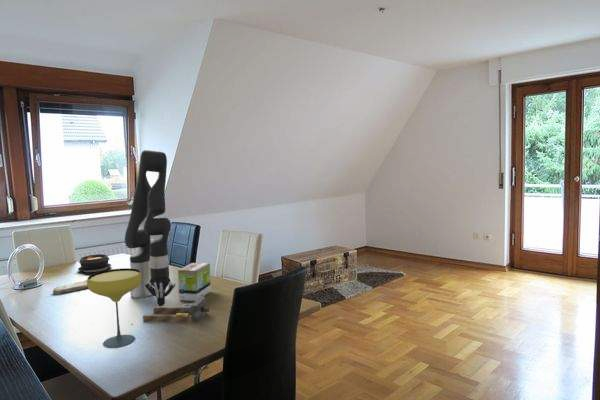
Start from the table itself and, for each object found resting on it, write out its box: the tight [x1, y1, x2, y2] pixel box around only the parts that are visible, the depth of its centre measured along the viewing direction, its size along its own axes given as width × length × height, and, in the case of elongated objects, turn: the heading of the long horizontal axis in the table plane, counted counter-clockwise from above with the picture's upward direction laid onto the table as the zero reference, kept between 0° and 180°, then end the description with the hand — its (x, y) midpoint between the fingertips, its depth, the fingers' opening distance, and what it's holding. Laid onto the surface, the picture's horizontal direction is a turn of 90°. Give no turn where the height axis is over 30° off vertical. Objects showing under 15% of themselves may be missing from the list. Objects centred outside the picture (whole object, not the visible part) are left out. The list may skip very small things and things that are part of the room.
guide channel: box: [142, 296, 210, 324], centre depth 177 cm, size 26×11×7 cm, turn 84°
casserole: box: [77, 253, 112, 273], centre depth 260 cm, size 25×19×8 cm
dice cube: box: [179, 302, 194, 315], centre depth 177 cm, size 5×5×5 cm
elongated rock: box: [52, 279, 89, 296], centre depth 226 cm, size 35×5×10 cm
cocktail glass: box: [86, 267, 142, 349], centre depth 153 cm, size 18×18×25 cm
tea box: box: [177, 262, 212, 302], centre depth 204 cm, size 15×10×15 cm
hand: (161, 305), depth 178 cm, fingers closed
